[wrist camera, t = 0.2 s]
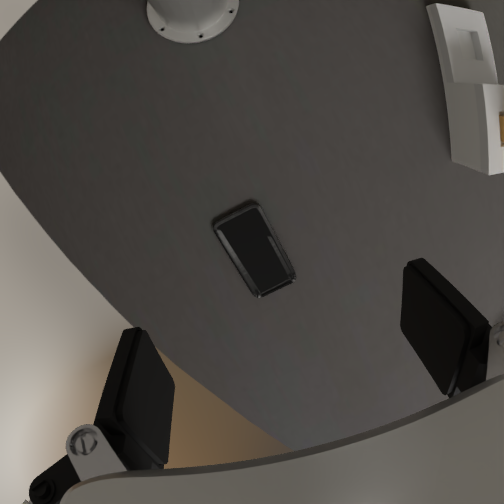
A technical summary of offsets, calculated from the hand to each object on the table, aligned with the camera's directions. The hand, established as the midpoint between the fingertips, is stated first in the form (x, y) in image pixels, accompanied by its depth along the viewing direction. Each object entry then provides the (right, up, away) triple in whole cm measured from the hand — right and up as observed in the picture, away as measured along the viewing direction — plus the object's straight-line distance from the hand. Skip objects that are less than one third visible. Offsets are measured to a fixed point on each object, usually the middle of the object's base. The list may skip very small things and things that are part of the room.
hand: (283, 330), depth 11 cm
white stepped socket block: (+36, +32, +29) cm, 57 cm away
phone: (0, +3, +40) cm, 40 cm away
